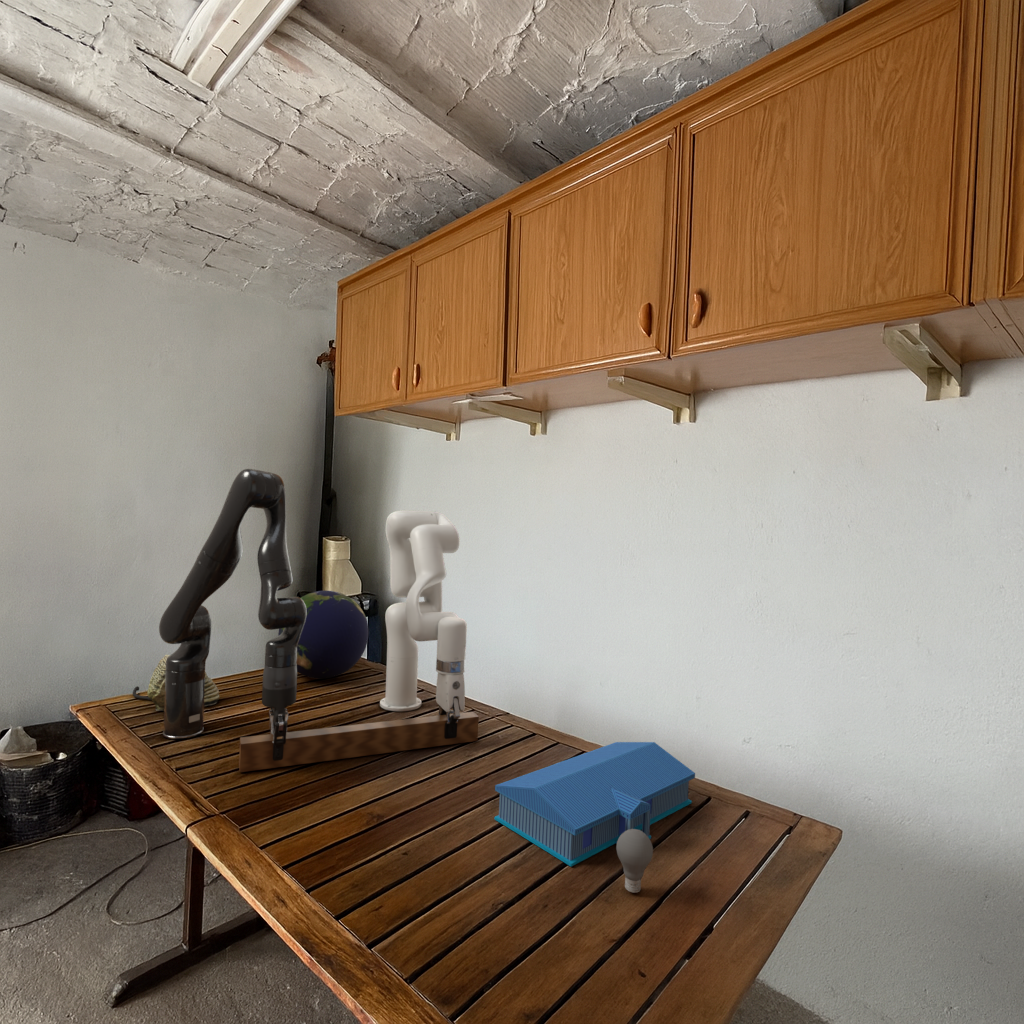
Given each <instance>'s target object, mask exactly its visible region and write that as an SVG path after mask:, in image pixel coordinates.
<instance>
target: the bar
mask: <svg viewBox="0 0 1024 1024" xmlns="http://www.w3.org/2000/svg"><path fill="white" fill-rule="evenodd" d="M451 715H453V713H452V714H450V717H451ZM479 721H480V716H479V715H477V713H476V712H475V711H466V712H460V718H458V723H457V737H456V738H449V739H445V737H444V734H445V723H447V722H446V715H439V714H438V715H430V716H422V717H421V716H420V717H414V718H413V717H412V718H404V719H403V718H402V719H396V720H395V719H393V720H387V721H385V720H384V721H376V722H367V723H359V724H358V723H357V724H350V725H341V726H333V727H324V728H323V727H322V728H314V729H305V730H297V731H287V732H286V742H285V744H284V747H283V759H282V760H277V761H274V760H273V744H272V741H273V734H270V733H269V734H268V733H267V734H259V735H251V736H241V737H239V753H238V769H239V770H238V771H239V773H245V772H246V773H247V772H253V771H260V770H267V769H268V770H269V769H276V768H284V767H291V766H296V765H305V764H314V763H320V762H322V763H323V762H328V761H329V762H330V761H336V760H344V759H351V758H358V757H359V758H360V757H365V756H373V755H380V754H388V753H396V752H404V751H410V750H419V749H425V748H434V747H441V746H450V745H456V744H464V743H472V742H478V739H479V723H480V722H479ZM277 739H282V736H281V737H277Z"/></svg>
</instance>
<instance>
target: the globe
mask: <svg viewBox="0 0 1024 1024" xmlns="http://www.w3.org/2000/svg"><path fill="white" fill-rule="evenodd" d="M300 598H301V599H302V600H303V601H304V603H305V605H306V609H307V615H306V620H305V624H304V627H303V629H302V632H301V636H300V639H299V642H298V646H297V674H300V675H302V676H303V677H307V678H310V679H316V680H324V679H331V678H335V677H338V676H340V675H342V674H344V673H346V672H348V671H349V670H351V669H352V668H353V667H354V666H355V665H357V663H358V662H359V661H360V660H361V658H362V656H363V654H364V652H365V650H366V648H367V645H368V641H369V623H368V620H367V617H366V614H365V612H364V611H363V609H362V608H361V606H360V605H359V604H358V603H357V602H356V600H354V599H353V598H351V597H350V596H348V595H346V594H344V593H341V592H339V591H335V590H318V591H312V592H309V593H307V594H305V595H302V596H301V597H300ZM283 630H284V628H282V629H278V635H277V636H279V635H281V634H282V632H283Z"/></svg>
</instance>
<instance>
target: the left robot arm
mask: <svg viewBox="0 0 1024 1024" xmlns="http://www.w3.org/2000/svg"><path fill="white" fill-rule="evenodd" d="M284 482H285V481H284V479H282V477H281V476H280V475H278V474H277V473H274V472H269V471H265V470H259V469H256V468H255V469H253V468H245V469H242V470H241V471H239V472H238V474H237V475H236V476H235V478H234V479H233V481H232V483H231V485H230V487H229V491H228V493H227V495H226V498H225V500H224V502H223V506H222V507H221V511H220V513H219V515H218V517H217V519H216V521H215V523H214V525H213V528H212V529H211V531H210V534H209V535H208V537H207V539H206V541H205V542H204V544H203V545H202V548H201V550H200V551H199V553H198V555H197V557H196V559H195V561H194V563H193V566H192V567H191V569H190V571H189V573H188V574H187V576H186V577H185V580H184V581H183V583H182V585H181V587H180V588H179V590H178V591H177V593H176V594H175V596H174V597H173V599H172V600H171V601H170V603H169V604H168V606H167V607H166V609H165V610H164V612H163V614H162V615H161V618H160V621H159V625H158V632H159V636H160V638H161V640H162V641H163V642H164V643H166V644H169V645H179V646H178V648H177V649H176V650H175V651H174V652H173V653H170V654H169V655H170V656H169V657H168V658H167V660H166V674H165V705H164V710H163V731H162V737H164V738H166V739H169V740H185V739H190V738H191V739H192V738H194V737H197V736H199V735H202V734H203V732H204V730H205V729H204V722H205V721H204V718H205V706H204V693H205V672H206V664H207V663H206V662H207V659H208V657H209V653H210V647H211V636H212V617H211V614H210V612H209V610H208V609H207V607H206V606H205V605H203V603H204V602H205V601H206V600H207V599H209V597H211V596H212V595H213V594H214V593H216V592H217V591H218V590H219V589H220V588H222V586H224V585H225V584H226V582H228V581H229V580H230V578H232V576H233V574H234V573H235V571H236V568H237V567H238V565H239V563H240V561H241V560H242V558H243V553H244V544H243V539H242V530H241V527H242V523H243V521H244V519H245V517H246V514H247V513H248V511H249V510H250V509H251V508H254V509H261V510H263V513H264V516H265V522H266V523H265V524H266V525H265V530H264V533H263V535H262V539H261V541H260V544H259V546H258V550H257V554H256V555H257V567H258V573H259V579H260V594H259V595H260V598H259V603H258V612H257V617H258V621H259V623H260V625H261V626H262V627H263V628H264V629H265V630H268V631H272V630H273V631H274V630H279V629H282V628H284V630H283V632H282V634H281V635H279V636H278V635H277V636H274V637H271V638H270V639H268V640H267V641H266V643H265V647H264V652H265V653H264V667H263V673H262V689H261V690H262V691H261V692H262V693H261V704H262V705H263V706H264V707H267V708H269V710H268V718H269V722H268V723H269V724H268V725H269V730H270V732H269V734H273V741H272V744H273V760H274V761H277V760H282V759H283V747H284V744H285V742H286V732H288V724H289V723H288V720H289V711H288V708H287V707H289V706H293V705H294V704H295V703H296V702H297V690H298V689H297V688H298V687H297V686H298V672H297V646H298V642H299V639H300V636H301V632H302V629H303V627H304V624H305V620H306V615H307V609H306V605H305V603H304V601H303V600H302V599H301V597H299V596H289V597H277V592H279V591H281V590H286V589H287V588H289V587H290V586H292V584H293V581H294V580H293V574H292V573H293V572H292V568H291V563H290V557H289V551H288V542H287V541H288V540H287V495H286V487H285V483H284ZM138 691H140V686H138V685H136V686H135V687H134V688H133V691H132V697H134V698H136V699H140V700H145V701H152V700H151V699H150V698H149V697H148V695H147V696H146V695H139V694H137V692H138ZM281 736H282V739H277V737H281Z"/></svg>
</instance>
